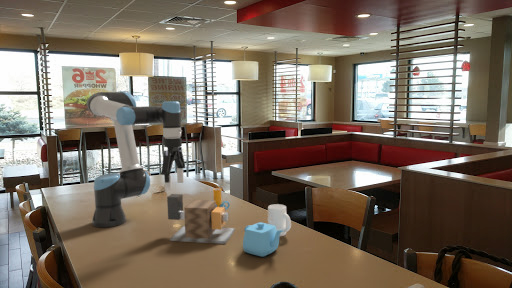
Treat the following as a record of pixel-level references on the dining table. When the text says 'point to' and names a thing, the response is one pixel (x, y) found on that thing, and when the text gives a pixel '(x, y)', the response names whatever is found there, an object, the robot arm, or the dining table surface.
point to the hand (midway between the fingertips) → (174, 186)
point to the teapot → (261, 239)
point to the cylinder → (219, 198)
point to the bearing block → (201, 225)
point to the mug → (279, 218)
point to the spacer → (217, 218)
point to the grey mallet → (181, 208)
